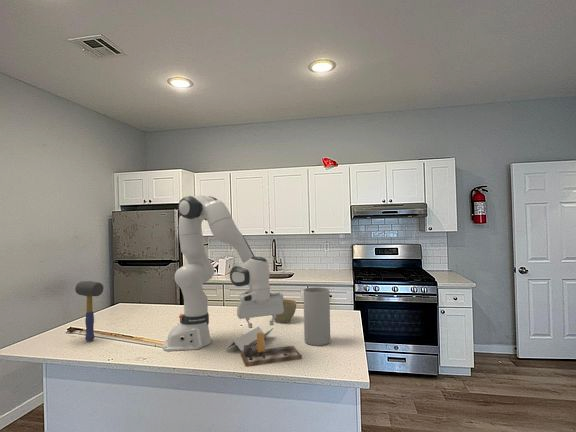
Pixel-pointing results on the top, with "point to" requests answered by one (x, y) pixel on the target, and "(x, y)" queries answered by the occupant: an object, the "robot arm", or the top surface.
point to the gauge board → (269, 355)
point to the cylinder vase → (316, 316)
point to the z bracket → (248, 338)
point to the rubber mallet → (89, 303)
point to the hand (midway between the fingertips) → (261, 326)
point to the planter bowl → (286, 311)
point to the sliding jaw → (260, 343)
